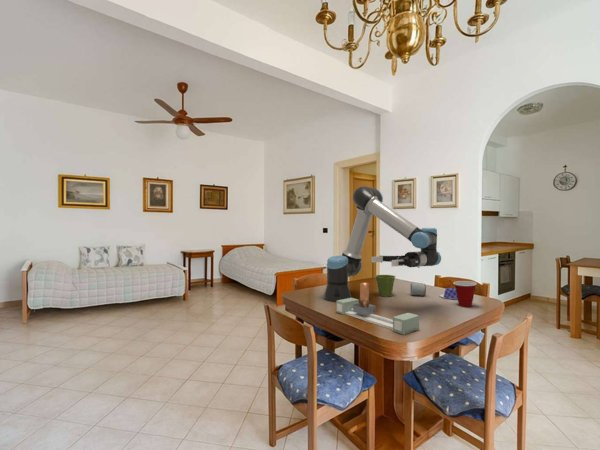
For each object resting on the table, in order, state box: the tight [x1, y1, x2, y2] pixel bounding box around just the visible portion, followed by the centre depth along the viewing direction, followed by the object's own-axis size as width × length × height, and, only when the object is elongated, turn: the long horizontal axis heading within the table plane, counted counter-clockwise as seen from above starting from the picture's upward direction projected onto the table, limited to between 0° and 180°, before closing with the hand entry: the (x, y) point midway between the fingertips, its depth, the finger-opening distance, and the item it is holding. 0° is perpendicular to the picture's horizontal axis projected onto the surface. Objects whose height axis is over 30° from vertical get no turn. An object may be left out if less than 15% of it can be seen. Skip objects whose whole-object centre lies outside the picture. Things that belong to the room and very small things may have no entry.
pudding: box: [439, 287, 458, 300], centre depth 176 cm, size 12×12×5 cm
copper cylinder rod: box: [353, 281, 377, 315], centre depth 139 cm, size 7×7×13 cm
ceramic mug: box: [410, 281, 427, 297], centre depth 182 cm, size 11×8×8 cm
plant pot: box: [374, 274, 396, 297], centre depth 181 cm, size 12×12×11 cm
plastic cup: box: [452, 280, 478, 308], centre depth 158 cm, size 11×11×12 cm
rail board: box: [335, 297, 420, 336], centre depth 134 cm, size 37×10×6 cm, turn 37°
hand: (381, 261), depth 143 cm, fingers open, 13 cm apart
